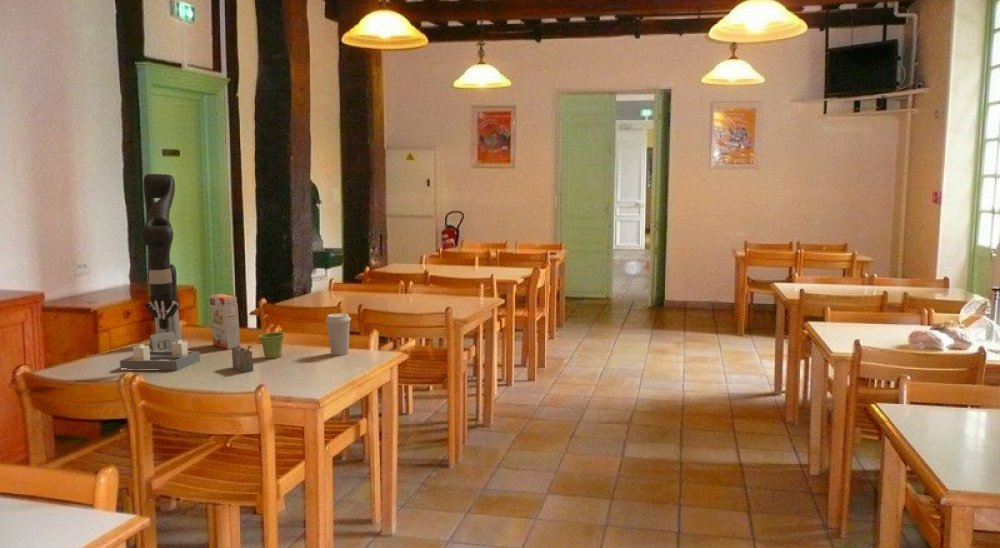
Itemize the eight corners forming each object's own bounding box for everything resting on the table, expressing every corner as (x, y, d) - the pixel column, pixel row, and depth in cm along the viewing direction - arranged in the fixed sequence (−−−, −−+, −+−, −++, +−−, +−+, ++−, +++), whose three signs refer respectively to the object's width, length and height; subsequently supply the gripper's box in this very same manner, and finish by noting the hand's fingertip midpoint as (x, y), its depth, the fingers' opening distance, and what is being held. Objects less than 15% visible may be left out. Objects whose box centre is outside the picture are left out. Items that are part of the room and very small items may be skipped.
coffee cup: (338, 357, 309) (336, 318, 308) (321, 354, 315) (319, 315, 313) (357, 352, 317) (355, 314, 315) (340, 349, 323) (339, 312, 321)
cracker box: (212, 345, 338) (208, 294, 335) (226, 343, 342) (222, 293, 339) (226, 350, 328) (223, 298, 325) (241, 347, 332) (237, 296, 329)
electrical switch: (154, 359, 315) (151, 335, 314) (149, 358, 318) (146, 334, 318) (178, 355, 321) (176, 331, 321) (173, 354, 325) (170, 331, 324)
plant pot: (266, 361, 306) (265, 338, 305) (256, 357, 314) (254, 334, 312) (290, 357, 312) (288, 334, 311) (279, 353, 319) (278, 331, 318)
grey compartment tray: (145, 360, 313) (145, 350, 313) (199, 360, 310) (199, 350, 309) (120, 370, 298) (119, 360, 297) (177, 370, 294) (176, 360, 294)
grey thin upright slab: (254, 372, 291) (252, 345, 290) (246, 373, 289) (244, 346, 288) (241, 367, 300) (239, 340, 299) (233, 368, 298) (231, 342, 297)
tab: (140, 361, 303) (138, 343, 302) (150, 361, 302) (149, 343, 301) (134, 364, 299) (132, 345, 298) (144, 364, 298) (142, 345, 297)
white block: (178, 356, 309) (176, 339, 308) (188, 357, 308) (186, 339, 307) (172, 359, 305) (171, 341, 304) (182, 359, 304) (181, 341, 304)
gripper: (183, 280, 298) (186, 327, 300) (149, 279, 300) (153, 326, 302) (172, 283, 290) (175, 331, 293) (137, 282, 292) (141, 330, 295)
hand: (164, 328), depth 297 cm, fingers closed
